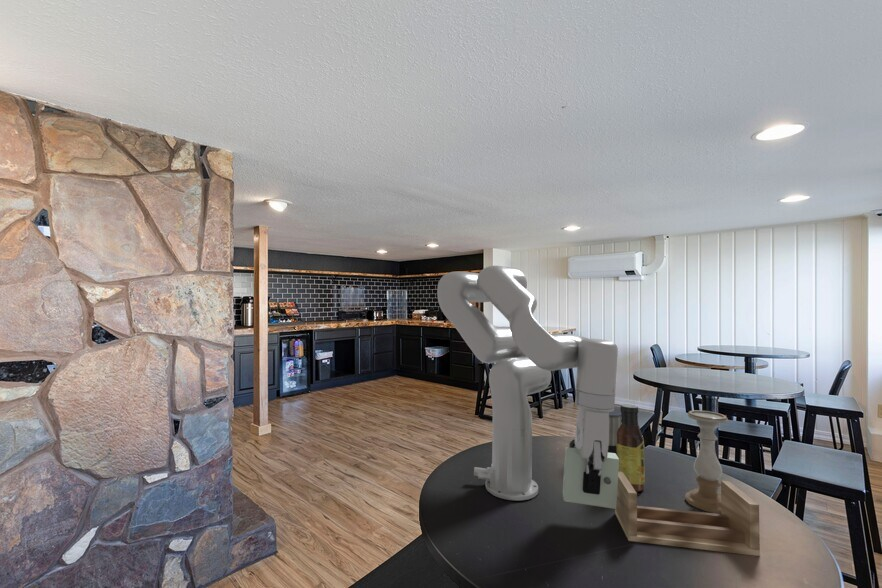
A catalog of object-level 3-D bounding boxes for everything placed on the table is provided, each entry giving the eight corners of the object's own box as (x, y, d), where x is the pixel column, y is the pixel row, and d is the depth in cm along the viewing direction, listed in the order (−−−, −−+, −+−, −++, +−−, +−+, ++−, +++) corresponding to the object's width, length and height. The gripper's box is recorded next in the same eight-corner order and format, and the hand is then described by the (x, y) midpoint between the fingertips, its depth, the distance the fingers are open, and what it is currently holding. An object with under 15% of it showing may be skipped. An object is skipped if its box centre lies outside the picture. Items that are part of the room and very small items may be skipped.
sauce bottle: (648, 494, 93) (647, 410, 94) (620, 491, 95) (620, 408, 95) (640, 482, 100) (639, 403, 101) (614, 480, 101) (613, 402, 102)
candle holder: (707, 493, 94) (706, 408, 95) (742, 512, 86) (741, 418, 86) (676, 497, 92) (675, 410, 93) (709, 516, 84) (708, 420, 84)
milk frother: (623, 471, 106) (623, 416, 107) (563, 460, 114) (564, 409, 114) (625, 454, 119) (625, 405, 120) (571, 445, 126) (571, 399, 127)
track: (628, 540, 74) (628, 492, 75) (615, 513, 84) (615, 471, 84) (759, 556, 70) (759, 504, 71) (729, 525, 80) (729, 481, 80)
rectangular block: (564, 502, 80) (567, 453, 79) (562, 493, 83) (565, 447, 83) (616, 510, 78) (619, 460, 78) (612, 501, 81) (615, 453, 81)
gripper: (570, 388, 89) (565, 468, 89) (582, 408, 73) (576, 506, 73) (604, 391, 88) (599, 473, 88) (625, 413, 72) (619, 513, 72)
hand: (589, 487), depth 81 cm, fingers closed on rectangular block, 3 cm apart
